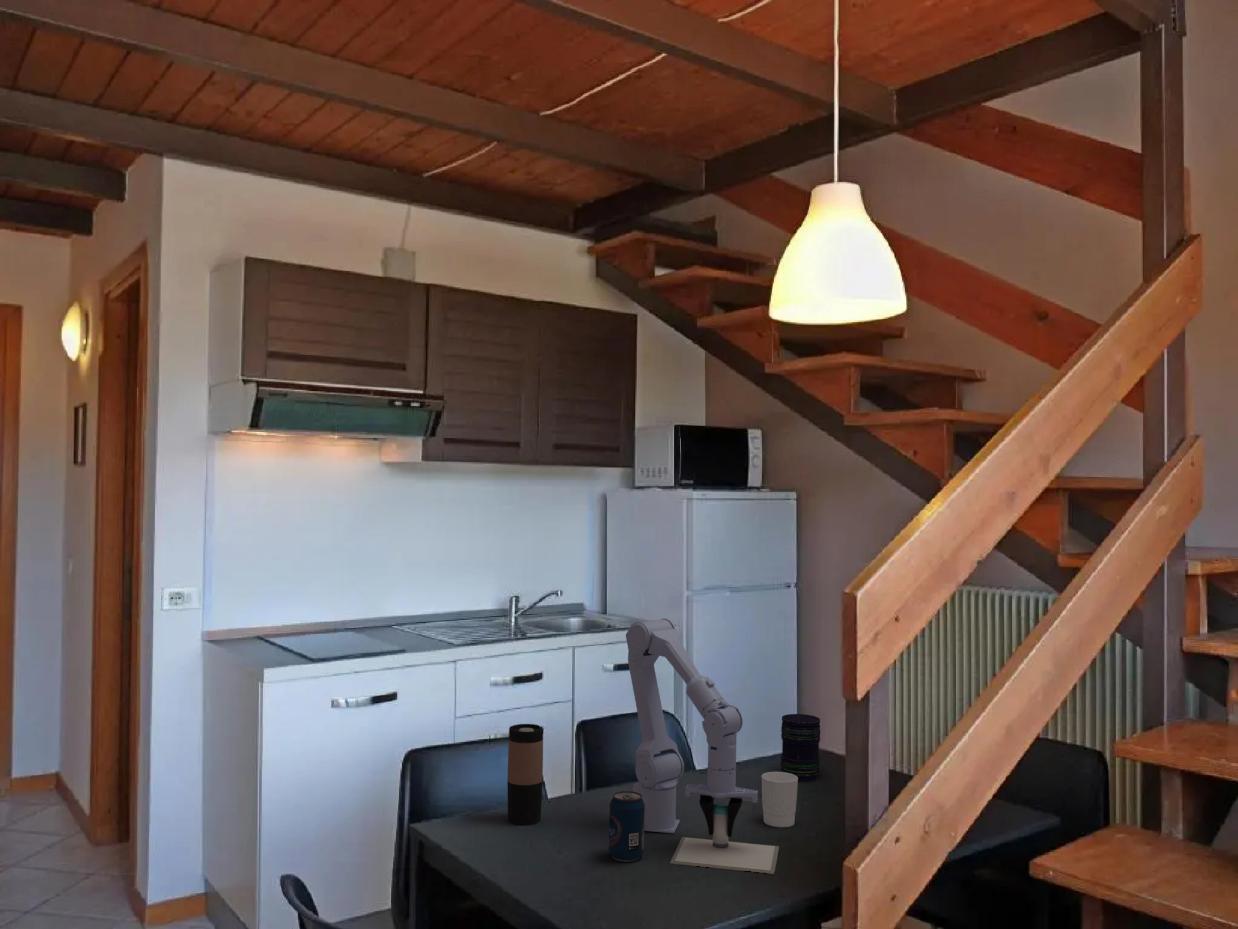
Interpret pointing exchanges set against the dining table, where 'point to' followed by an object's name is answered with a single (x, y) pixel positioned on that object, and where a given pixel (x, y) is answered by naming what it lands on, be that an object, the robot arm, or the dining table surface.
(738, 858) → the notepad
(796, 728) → the storage jar
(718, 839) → the marker
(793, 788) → the white cup
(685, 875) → the dining table surface
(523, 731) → the travel mug
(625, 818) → the soda can
